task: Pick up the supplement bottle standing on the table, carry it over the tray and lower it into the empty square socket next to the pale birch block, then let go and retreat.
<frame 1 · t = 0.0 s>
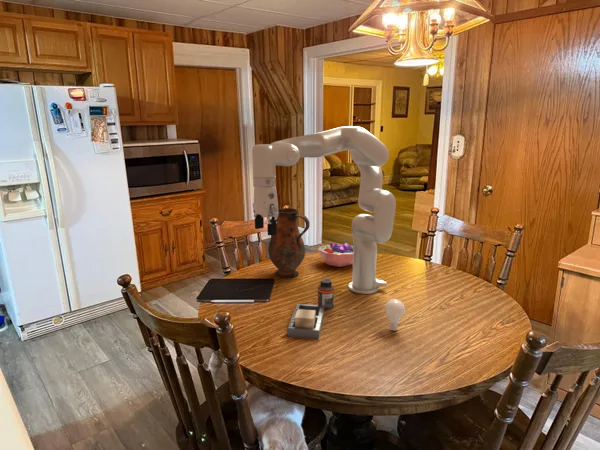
hand: (265, 231, 140), 31 cm above the table, tool pointing down, fingers open, 9 cm apart
cell model: (338, 265, 198), on the table
birch block: (305, 330, 134), point 1 cm above the table, touching tray
lightbulb: (393, 330, 136), on the table
tray: (307, 326, 138), on the table
pitcher: (290, 275, 185), on the table
supplement bottle: (325, 308, 152), on the table
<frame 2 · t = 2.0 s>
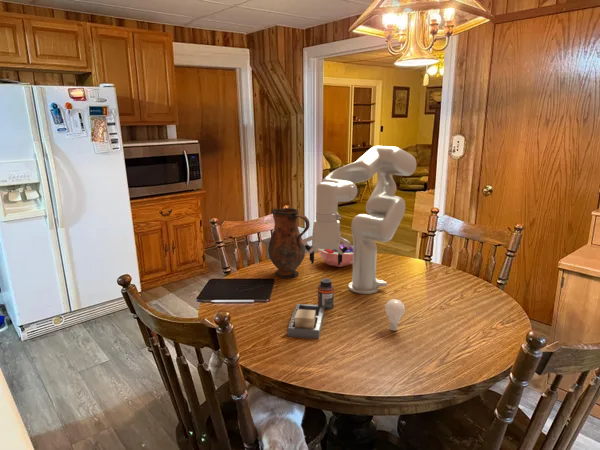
hand: (325, 263, 147), 18 cm above the table, tool pointing down, fingers open, 9 cm apart
nothing on the table moved.
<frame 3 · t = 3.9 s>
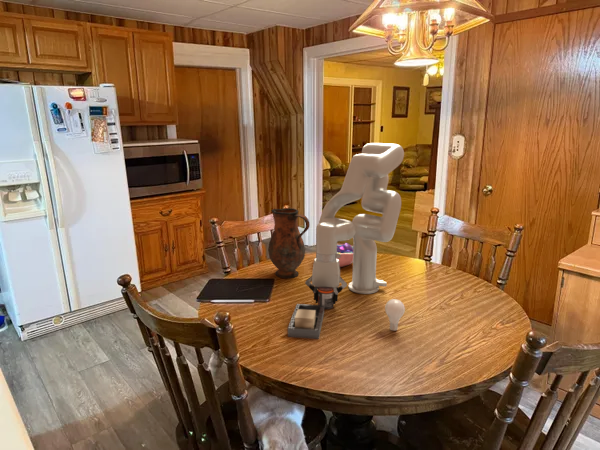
hand: (325, 301, 151), 3 cm above the table, tool pointing down, fingers closed on supplement bottle, 6 cm apart
supplement bottle: (325, 308, 152), on the table, touching gripper
everything else where it was.
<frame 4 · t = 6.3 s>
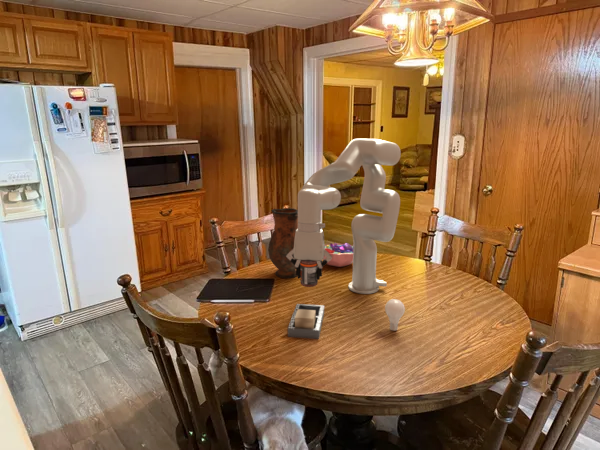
hand: (309, 277, 138), 16 cm above the table, tool pointing down, fingers closed on supplement bottle, 6 cm apart
supplement bottle: (309, 284, 139), point 14 cm above the table, touching gripper
everything else where it was.
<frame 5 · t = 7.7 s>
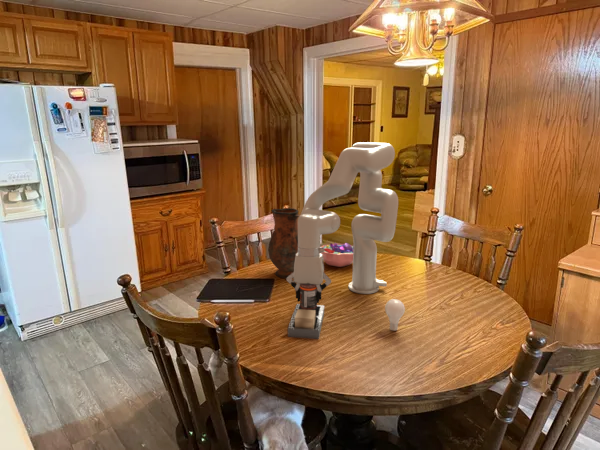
hand: (308, 300, 140), 8 cm above the table, tool pointing down, fingers closed on supplement bottle, 6 cm apart
supplement bottle: (308, 307, 141), point 5 cm above the table, touching gripper
everything else where it was.
when the fingers open (5 cm above the table, at t = 8.7 s): supplement bottle drops 2 cm, resting on tray.
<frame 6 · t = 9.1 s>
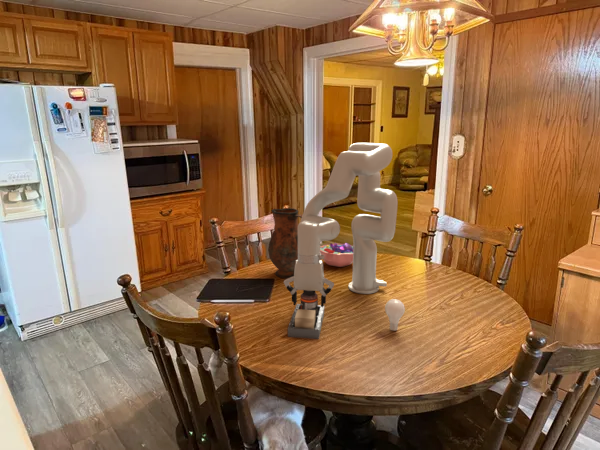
hand: (308, 304, 141), 6 cm above the table, tool pointing down, fingers open, 9 cm apart
supplement bottle: (309, 318, 142), point 1 cm above the table, touching tray
everything else where it was.
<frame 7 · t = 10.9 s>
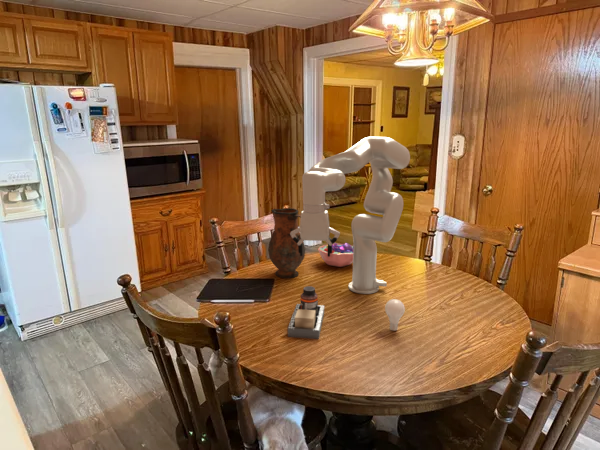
hand: (315, 255, 143), 22 cm above the table, tool pointing down, fingers open, 9 cm apart
nothing on the table moved.
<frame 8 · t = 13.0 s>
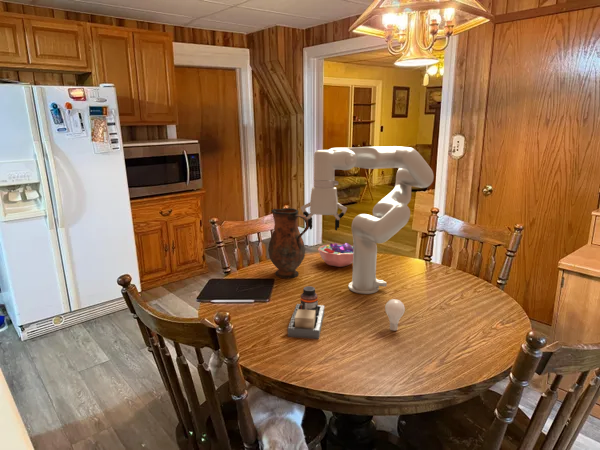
hand: (323, 229, 154), 28 cm above the table, tool pointing down, fingers open, 9 cm apart
nothing on the table moved.
at the end: supplement bottle 0.2 cm from the target spot on the tray, point 0.8 cm above the tray's base; supplement bottle tilted 0°; the gripper is holding nothing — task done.
